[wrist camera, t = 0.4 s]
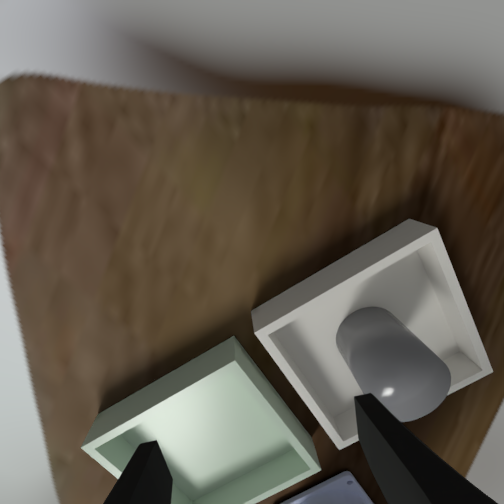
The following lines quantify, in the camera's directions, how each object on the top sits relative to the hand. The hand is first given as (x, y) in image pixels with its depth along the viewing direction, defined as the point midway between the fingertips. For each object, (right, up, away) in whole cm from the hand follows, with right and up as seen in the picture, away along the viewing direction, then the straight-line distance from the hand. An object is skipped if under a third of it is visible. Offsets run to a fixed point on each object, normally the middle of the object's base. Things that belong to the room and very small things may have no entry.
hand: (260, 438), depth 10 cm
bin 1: (-4, -7, +12) cm, 15 cm away
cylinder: (+8, +1, +10) cm, 13 cm away
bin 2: (+8, +1, +10) cm, 13 cm away
